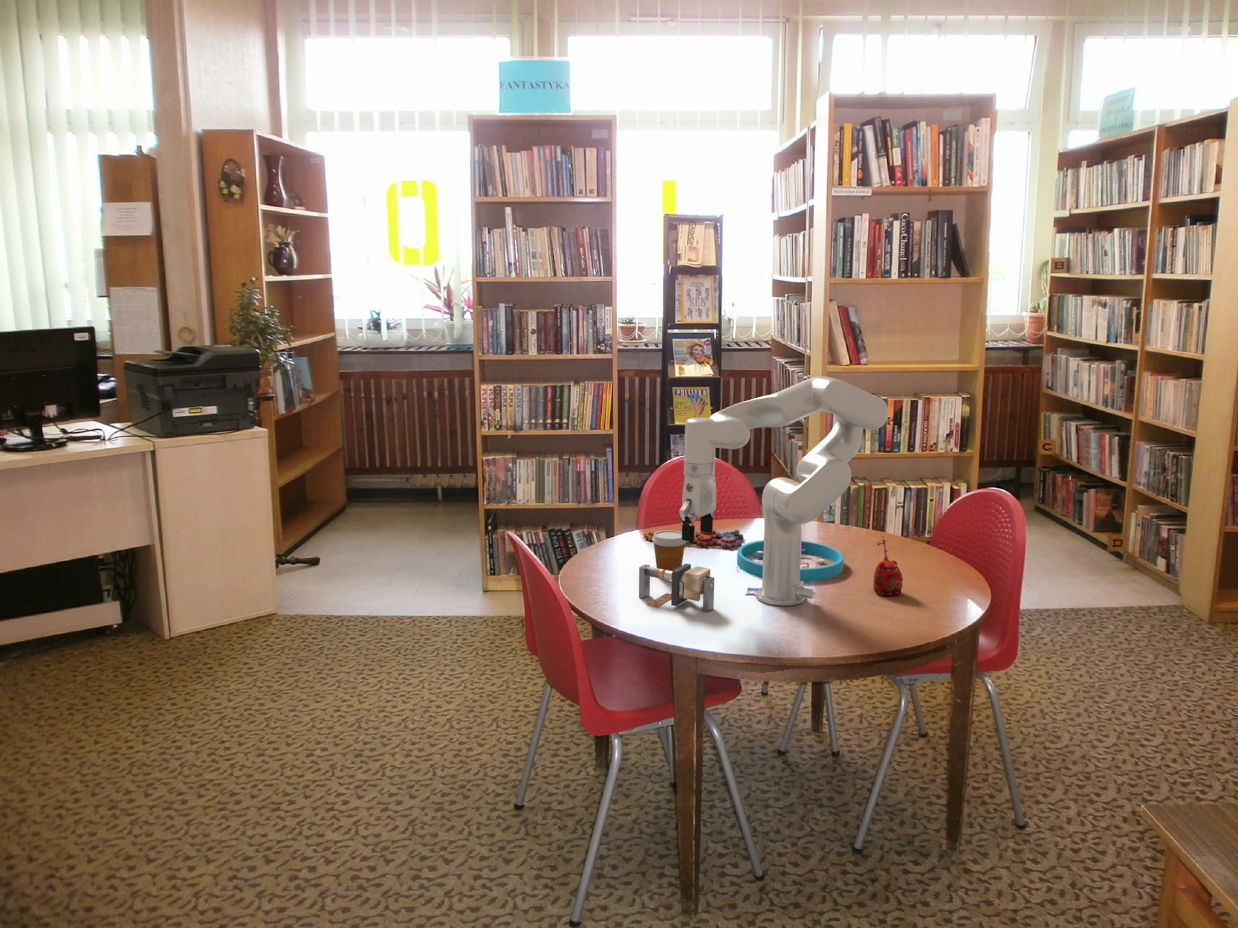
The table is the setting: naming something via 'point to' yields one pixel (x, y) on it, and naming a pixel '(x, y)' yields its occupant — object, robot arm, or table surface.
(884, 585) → the red clay folk toy
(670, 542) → the disposable coffee cup
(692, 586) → the sleeve
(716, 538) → the gear puzzle
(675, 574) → the dark grey u-shaped piece
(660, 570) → the grey long flanged piece
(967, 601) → the table surface
